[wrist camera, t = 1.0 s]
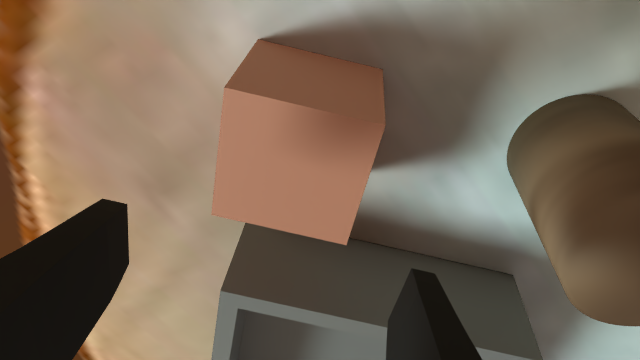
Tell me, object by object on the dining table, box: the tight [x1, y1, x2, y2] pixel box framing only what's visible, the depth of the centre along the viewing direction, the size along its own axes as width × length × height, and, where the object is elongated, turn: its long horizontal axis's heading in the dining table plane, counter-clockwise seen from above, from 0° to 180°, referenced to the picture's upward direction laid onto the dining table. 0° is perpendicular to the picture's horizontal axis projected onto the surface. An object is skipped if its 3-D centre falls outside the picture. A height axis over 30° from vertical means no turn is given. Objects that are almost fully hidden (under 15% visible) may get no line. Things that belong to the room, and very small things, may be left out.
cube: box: [211, 39, 386, 245], centre depth 17 cm, size 5×5×5 cm
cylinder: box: [507, 94, 640, 326], centre depth 16 cm, size 5×5×7 cm
